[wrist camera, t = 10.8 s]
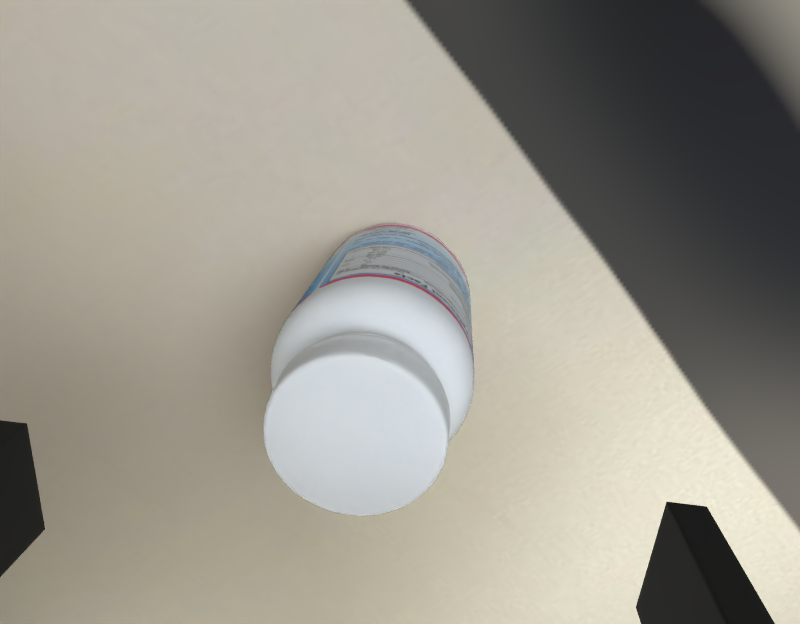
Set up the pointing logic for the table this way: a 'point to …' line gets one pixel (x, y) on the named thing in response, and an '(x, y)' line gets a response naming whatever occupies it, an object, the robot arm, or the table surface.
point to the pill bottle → (372, 373)
